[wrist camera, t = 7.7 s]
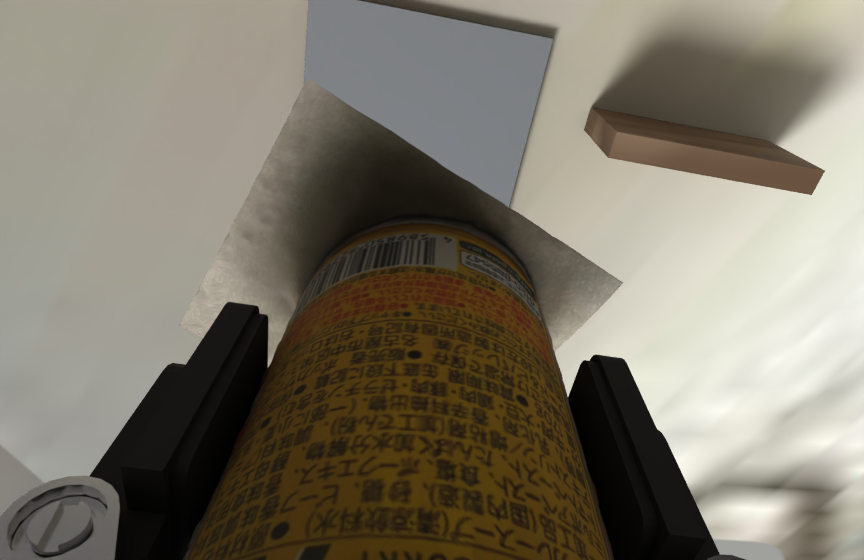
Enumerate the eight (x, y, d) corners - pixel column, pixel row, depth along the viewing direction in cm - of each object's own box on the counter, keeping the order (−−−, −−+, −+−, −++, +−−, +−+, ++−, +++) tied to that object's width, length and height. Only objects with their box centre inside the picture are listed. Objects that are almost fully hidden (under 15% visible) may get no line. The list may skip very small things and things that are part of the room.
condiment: (451, 456, 16) (467, 1318, 6) (181, 322, 14) (-567, 1304, 4) (621, 277, 13) (1286, 1389, 3) (311, 74, 11) (-1689, 1518, 1)
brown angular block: (680, -180, 23) (735, -214, 19) (900, -129, 24) (1002, -151, 19) (584, 129, 30) (608, 157, 25) (758, 162, 30) (811, 194, 26)
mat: (311, -10, 27) (309, -10, 26) (551, 37, 27) (553, 39, 27) (297, 216, 32) (295, 219, 32) (495, 249, 33) (496, 253, 33)
